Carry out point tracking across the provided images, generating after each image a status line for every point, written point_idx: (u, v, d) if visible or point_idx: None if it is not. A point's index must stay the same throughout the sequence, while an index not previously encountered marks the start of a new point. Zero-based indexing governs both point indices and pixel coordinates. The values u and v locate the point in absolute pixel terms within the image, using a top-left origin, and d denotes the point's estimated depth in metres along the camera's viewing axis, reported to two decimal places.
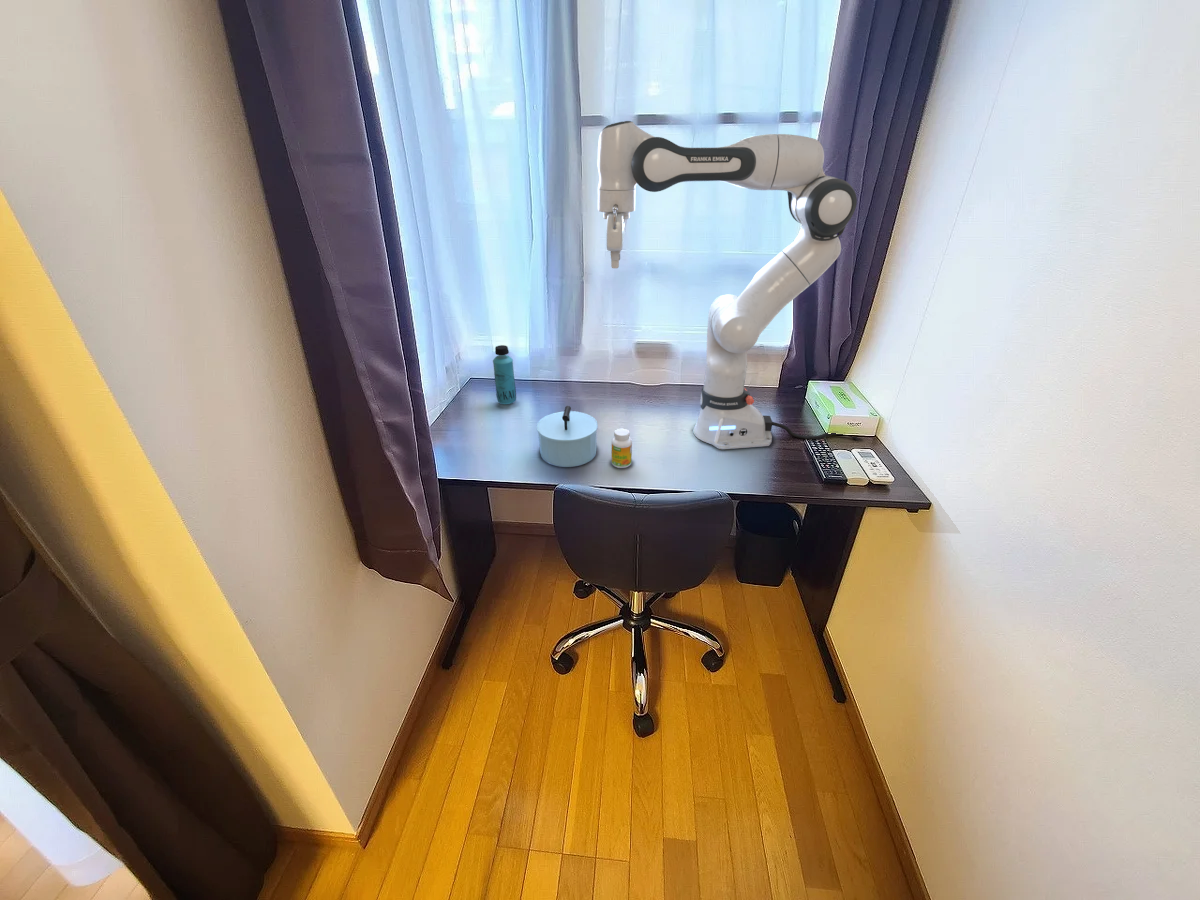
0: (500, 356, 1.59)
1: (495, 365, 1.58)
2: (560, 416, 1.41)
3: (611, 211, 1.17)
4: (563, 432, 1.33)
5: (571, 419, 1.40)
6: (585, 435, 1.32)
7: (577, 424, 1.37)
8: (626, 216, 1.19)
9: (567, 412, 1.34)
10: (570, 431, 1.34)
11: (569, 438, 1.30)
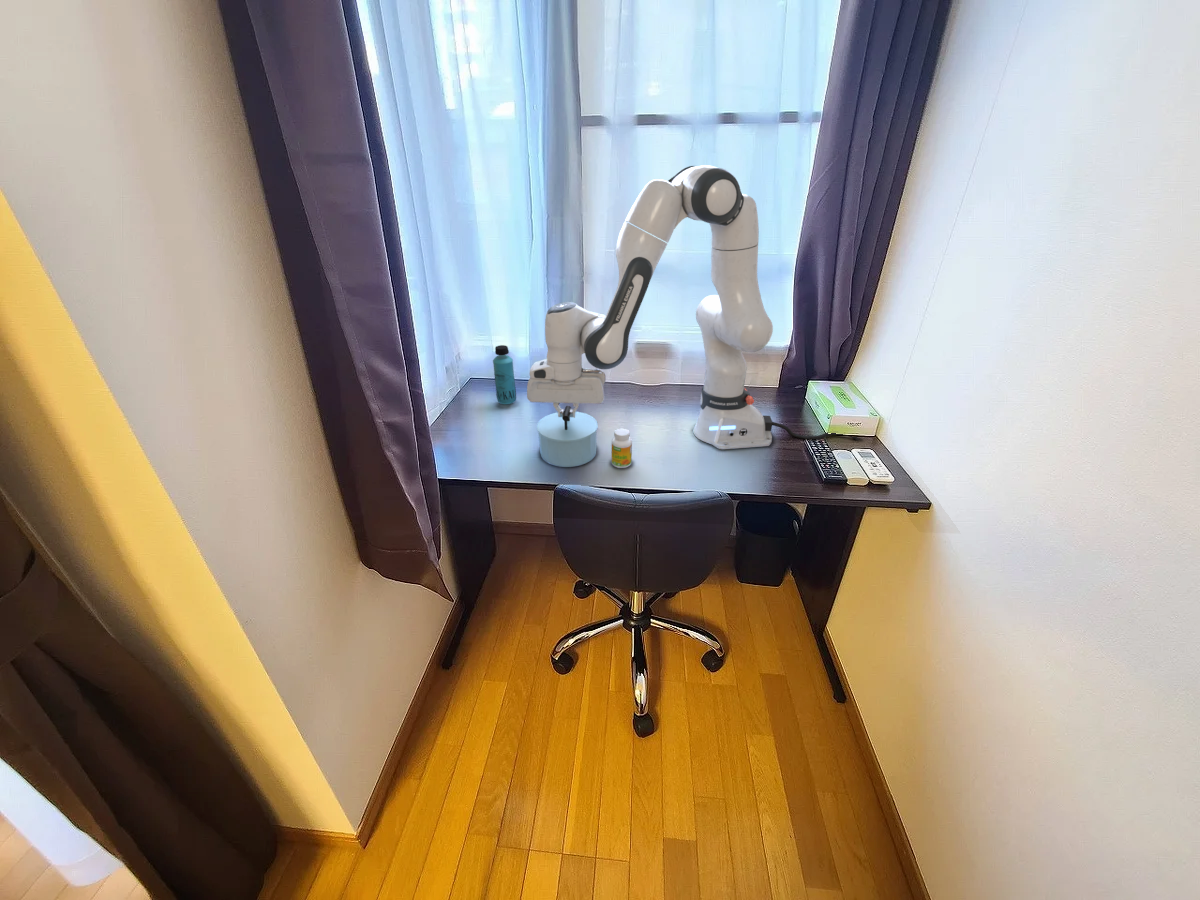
0: (500, 356, 1.59)
1: (495, 365, 1.58)
2: None
3: (581, 375, 1.28)
4: (563, 432, 1.33)
5: (571, 419, 1.40)
6: (585, 435, 1.32)
7: (577, 424, 1.37)
8: None
9: (567, 412, 1.34)
10: (570, 431, 1.34)
11: (569, 438, 1.30)
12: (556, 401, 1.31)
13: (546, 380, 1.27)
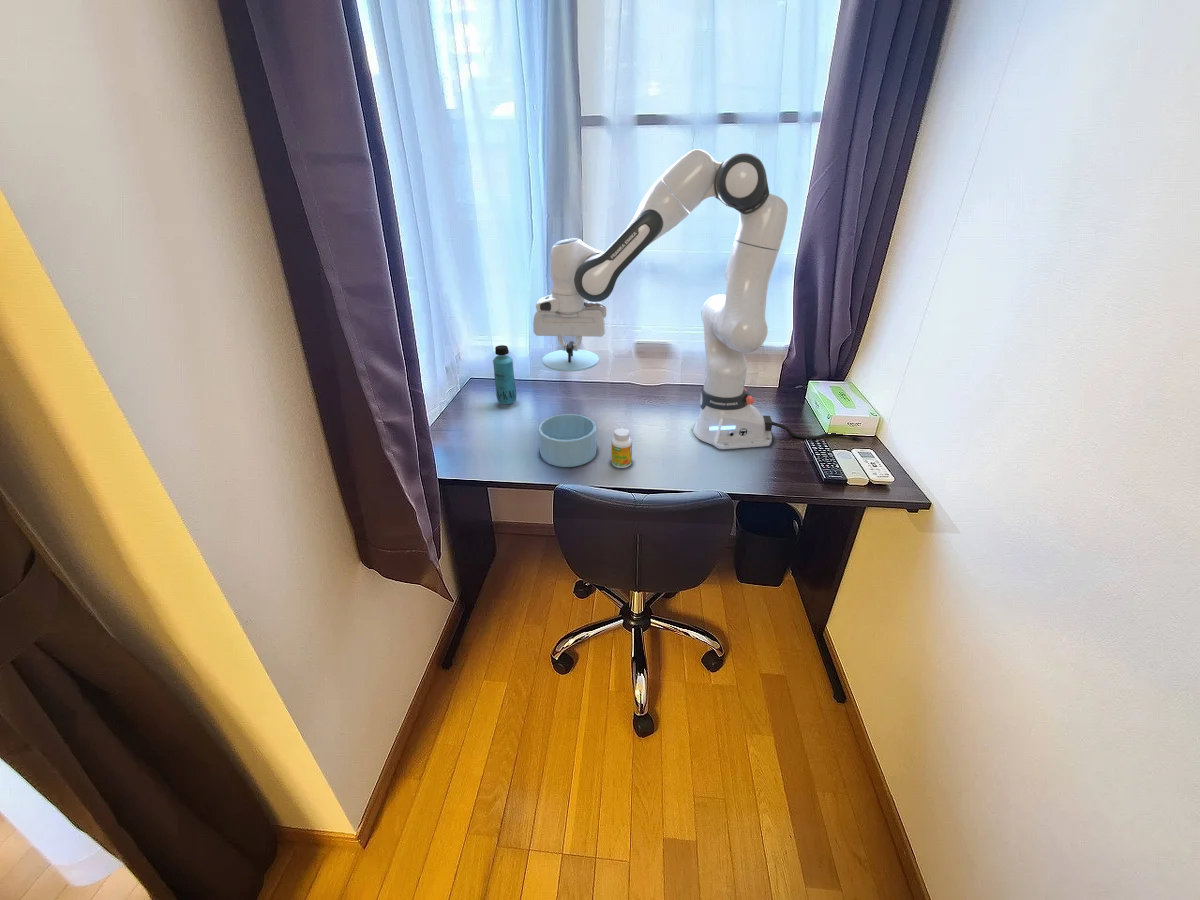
0: (500, 356, 1.59)
1: (495, 365, 1.58)
2: (564, 352, 1.51)
3: (583, 308, 1.38)
4: (567, 364, 1.43)
5: (574, 355, 1.50)
6: (587, 366, 1.42)
7: (580, 358, 1.47)
8: None
9: (571, 345, 1.44)
10: (573, 363, 1.44)
11: (573, 368, 1.40)
12: (560, 334, 1.41)
13: (551, 313, 1.37)
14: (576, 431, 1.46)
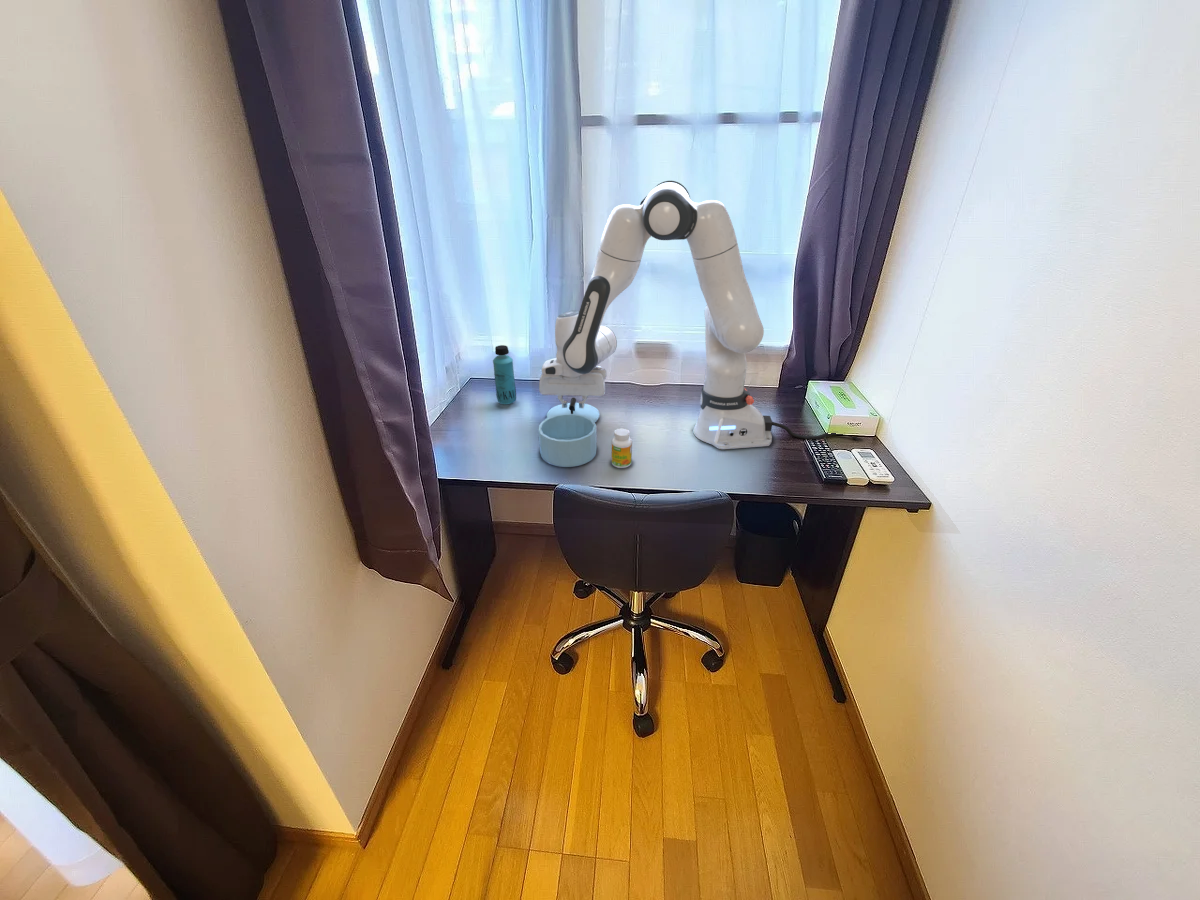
0: (500, 356, 1.59)
1: (495, 365, 1.58)
2: (567, 407, 1.63)
3: None
4: None
5: (576, 409, 1.61)
6: None
7: (581, 413, 1.59)
8: None
9: (573, 403, 1.56)
10: None
11: None
12: (564, 394, 1.53)
13: (556, 376, 1.49)
14: (576, 431, 1.46)
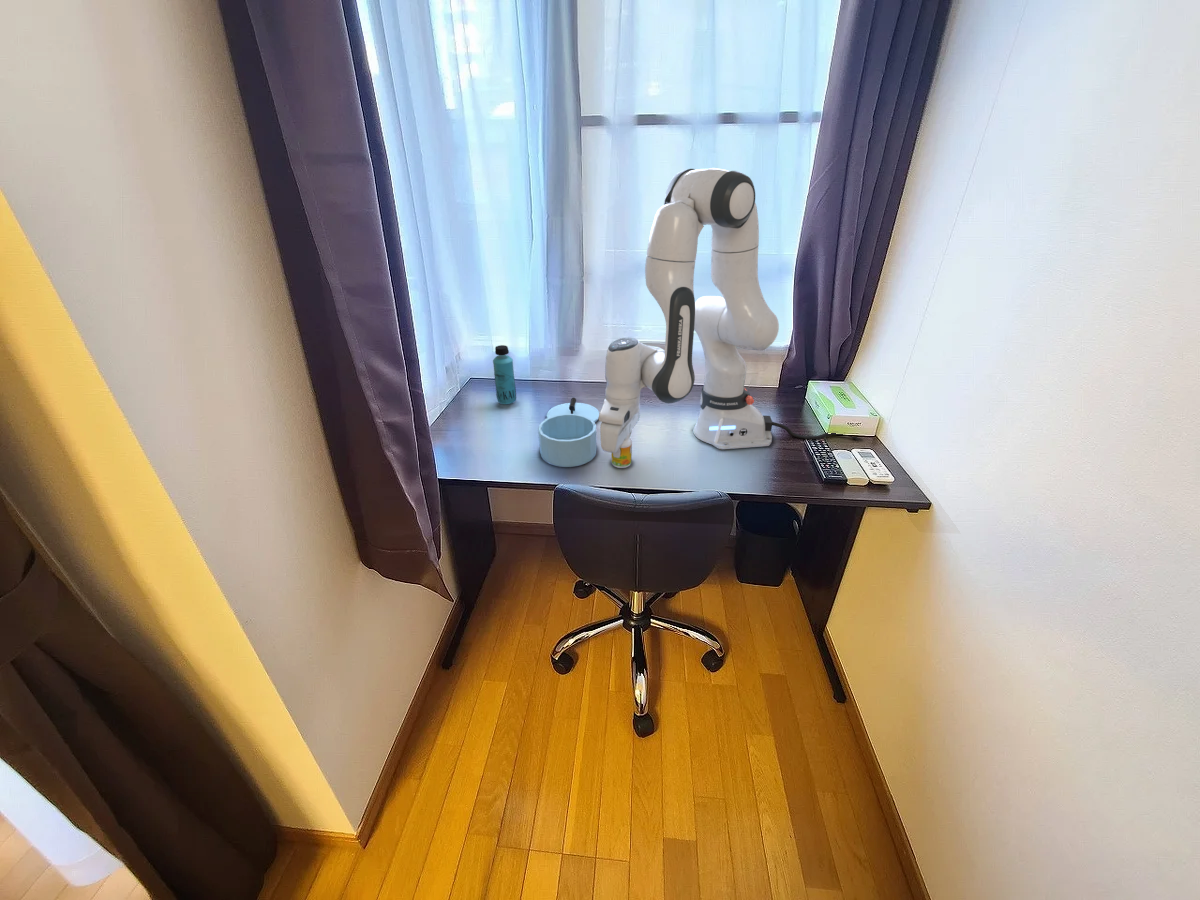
0: (500, 356, 1.59)
1: (495, 365, 1.58)
2: (567, 407, 1.63)
3: None
4: None
5: (576, 409, 1.61)
6: None
7: (581, 413, 1.59)
8: None
9: (573, 403, 1.56)
10: None
11: None
12: (625, 438, 1.29)
13: (627, 420, 1.24)
14: (576, 431, 1.46)
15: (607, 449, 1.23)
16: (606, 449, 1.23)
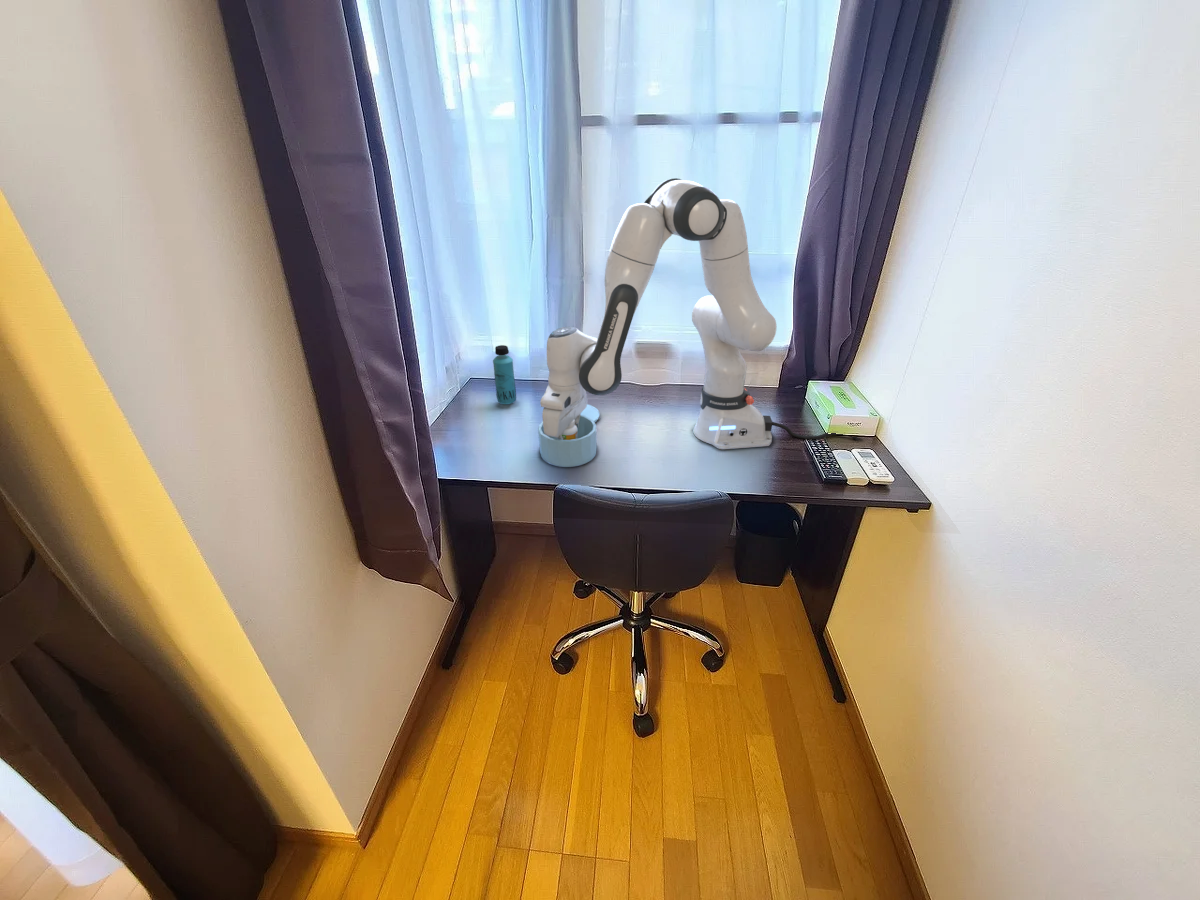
0: (500, 356, 1.59)
1: (495, 365, 1.58)
2: None
3: None
4: None
5: None
6: None
7: (581, 413, 1.59)
8: None
9: None
10: None
11: None
12: (569, 423, 1.34)
13: (568, 406, 1.28)
14: None
15: (549, 434, 1.28)
16: (548, 434, 1.28)
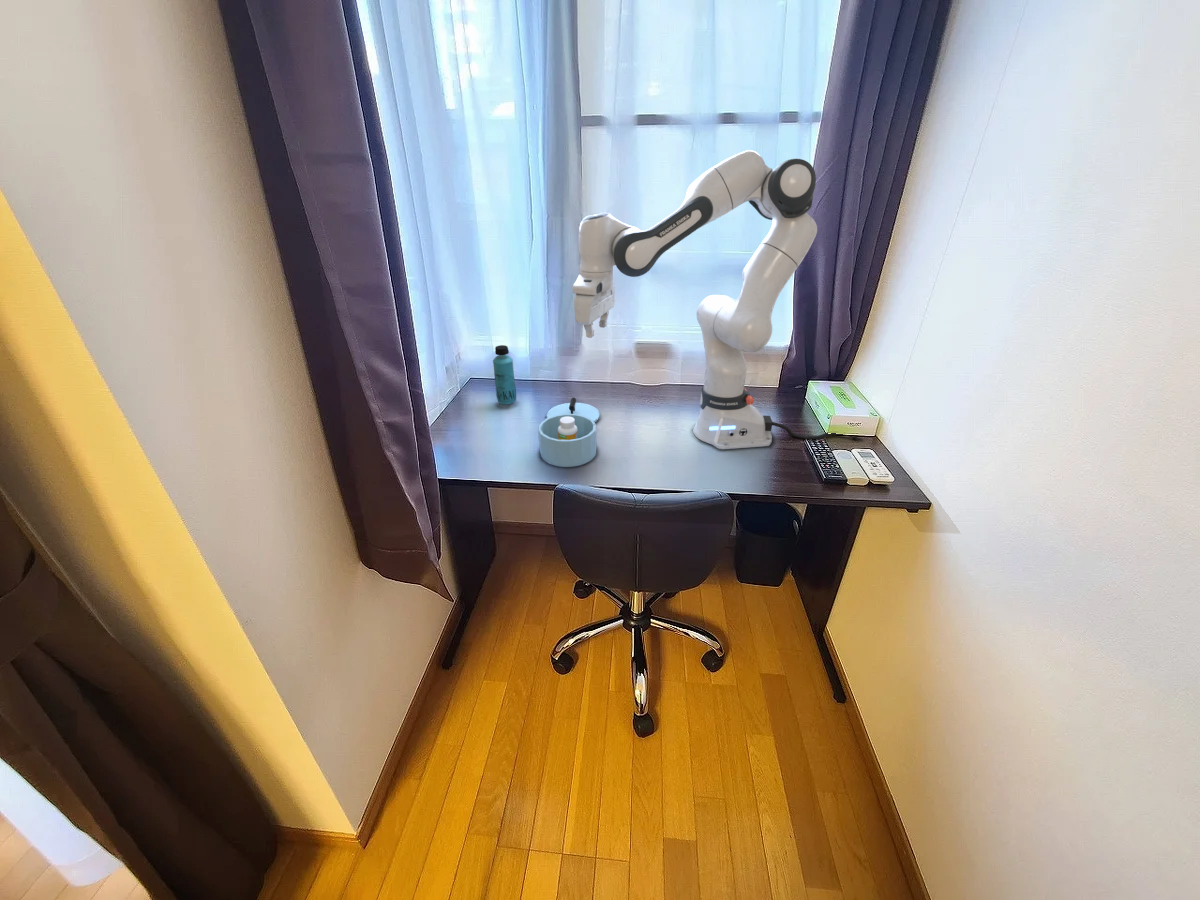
0: (500, 356, 1.59)
1: (495, 365, 1.58)
2: (567, 407, 1.63)
3: None
4: None
5: (576, 409, 1.61)
6: None
7: (581, 413, 1.59)
8: None
9: (573, 403, 1.56)
10: None
11: None
12: (599, 315, 1.35)
13: (600, 294, 1.30)
14: None
15: (581, 321, 1.29)
16: (580, 321, 1.29)
